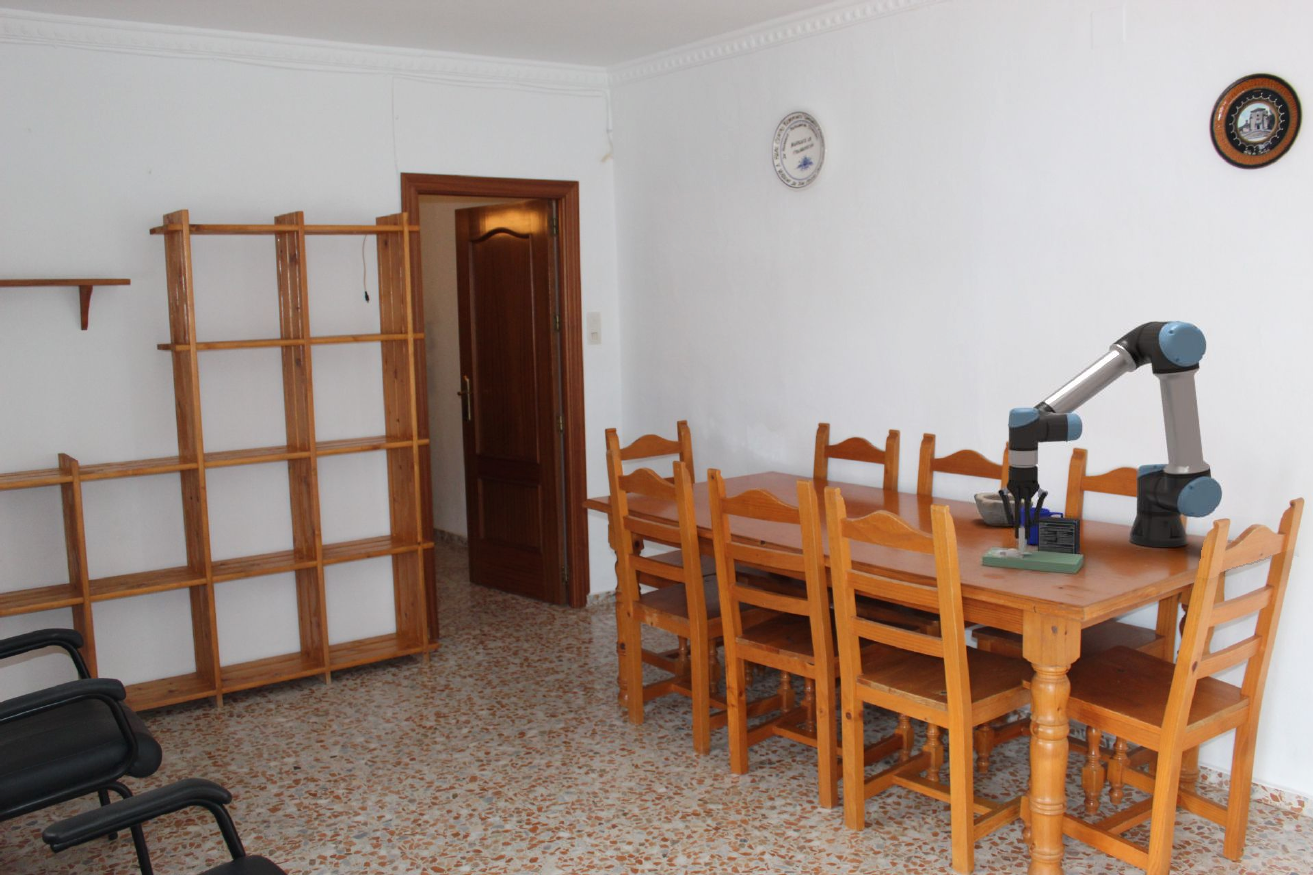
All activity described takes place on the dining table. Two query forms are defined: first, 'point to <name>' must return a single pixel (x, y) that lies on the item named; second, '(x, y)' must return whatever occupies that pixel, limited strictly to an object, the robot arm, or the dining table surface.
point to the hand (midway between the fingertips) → (1022, 550)
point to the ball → (1012, 552)
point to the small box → (1059, 535)
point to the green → (1034, 560)
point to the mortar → (995, 508)
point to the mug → (1034, 529)
